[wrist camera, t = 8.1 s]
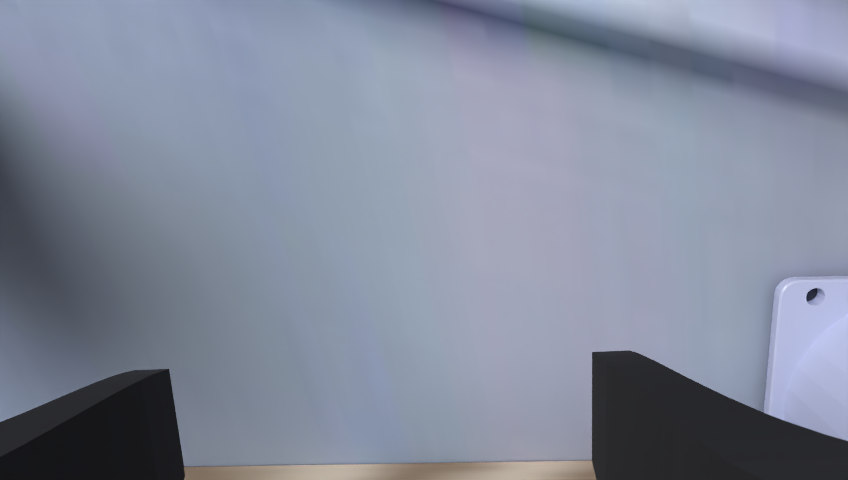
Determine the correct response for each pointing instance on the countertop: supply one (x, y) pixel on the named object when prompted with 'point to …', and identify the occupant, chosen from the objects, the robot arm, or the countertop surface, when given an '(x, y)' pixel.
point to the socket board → (402, 471)
